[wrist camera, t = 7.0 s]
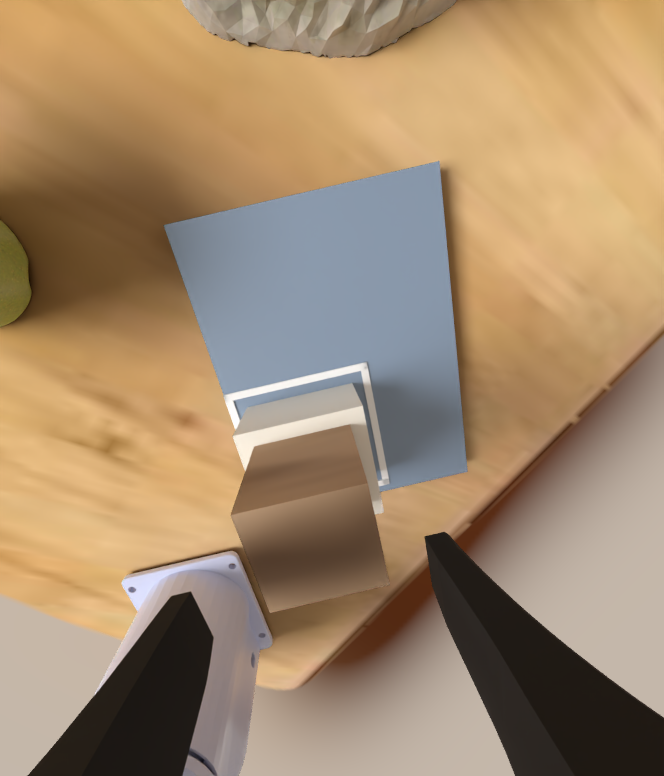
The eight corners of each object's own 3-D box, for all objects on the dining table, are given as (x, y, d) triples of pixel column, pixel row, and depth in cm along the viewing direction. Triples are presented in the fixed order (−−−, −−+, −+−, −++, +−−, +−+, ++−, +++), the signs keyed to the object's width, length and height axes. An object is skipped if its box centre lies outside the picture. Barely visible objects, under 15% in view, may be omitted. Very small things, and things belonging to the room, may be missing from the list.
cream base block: (371, 473, 19) (384, 512, 16) (276, 495, 19) (269, 539, 16) (352, 382, 17) (362, 405, 14) (247, 407, 17) (232, 436, 14)
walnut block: (367, 503, 16) (389, 584, 11) (280, 523, 16) (269, 613, 11) (349, 424, 14) (367, 482, 10) (253, 446, 14) (230, 515, 10)
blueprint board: (460, 463, 21) (468, 472, 20) (269, 507, 21) (267, 519, 20) (431, 169, 15) (440, 160, 14) (172, 229, 15) (162, 224, 14)
